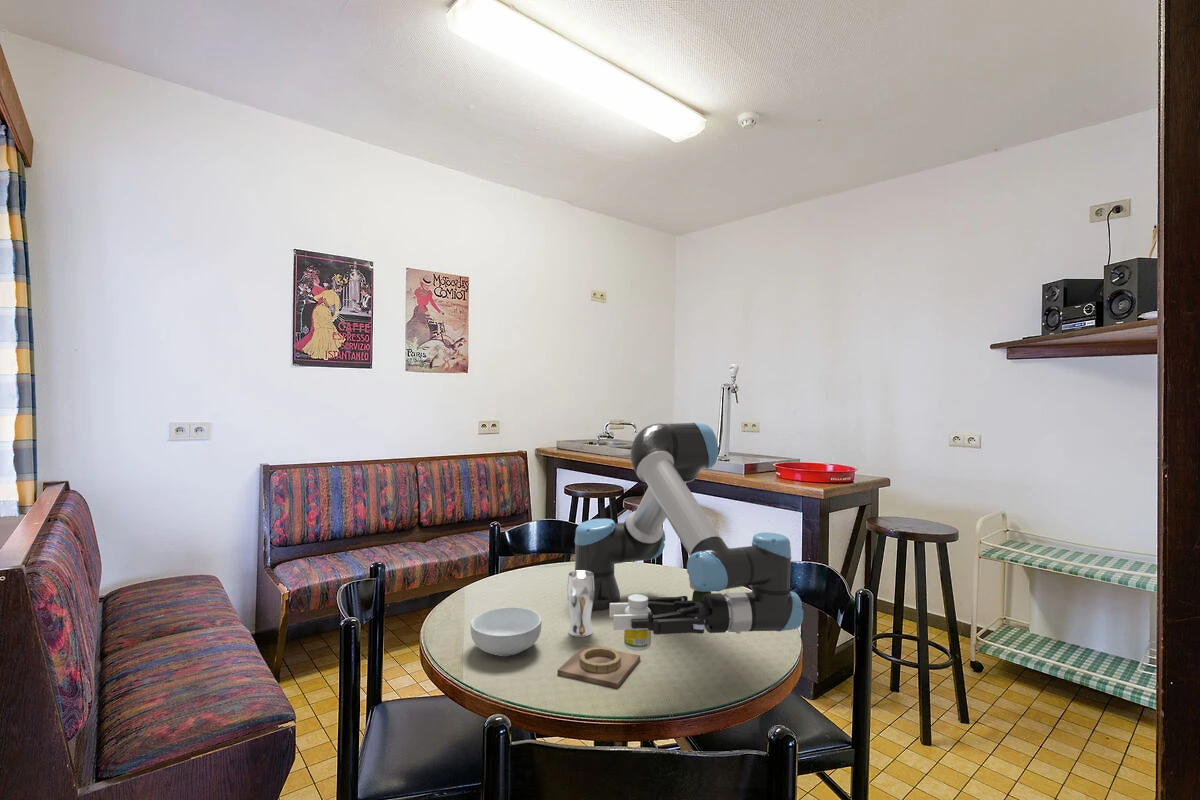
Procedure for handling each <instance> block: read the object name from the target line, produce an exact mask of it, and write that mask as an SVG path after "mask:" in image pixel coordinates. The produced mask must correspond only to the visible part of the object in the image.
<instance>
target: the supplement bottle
mask: <svg viewBox="0 0 1200 800" xmlns="http://www.w3.org/2000/svg"><path fill="white" fill-rule="evenodd" d="M627 603H628V605H629V606H628V607H626V609H625V614H647V618H648V613H649V612H650V613H651V610H650V609H649V608H648V607H647V606H648V596H646V595H644V594H637V593H635V594H630V595H629V596H628V597H627ZM651 632H652V631H650V630H648V628H647V629H632V630H623V633H624V634H623V635H624V637H623V641H624V643H623V644H624V646H625V647H626V648H627V649H628V650H631V651H635V652H636V651H637V652H639V651H640V652H641V651H645V650H648V649H649V648H650V647H651V643H652V639H651V638H652V637H651V636H652V635H651V634H652V633H651Z"/></svg>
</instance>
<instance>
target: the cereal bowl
mask: <svg viewBox="0 0 1200 800" xmlns="http://www.w3.org/2000/svg"><path fill="white" fill-rule="evenodd" d="M541 632H542V617H541V615H540V614H539V613H538V612H537V611H535V610H532V609H530V608H526V607H520V606H519V607H517V606H507V607H505V606H504V607H499V608H492V609H489V610H485V611H483V612H480V613H478V614H477V615H475V616H474V617H472V619H471V621H470V635H471V639H472V641H473V643H474V644H475V646H476V647H477V648H478V649H479V650H481V651H483V652H485V653H488V654H491V655H494V654H496V655H495V656H497V655H501V656H500V657H510V655H512V656H515V655H518V654H520V653H521V652H524V651H525V650H528V649H529V648H531V647H532V646H533V645H534V644H535V643H536V642H537V641H538V639H539V638H540V635H541ZM517 653H518V654H517Z"/></svg>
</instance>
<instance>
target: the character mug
mask: <svg viewBox="0 0 1200 800" xmlns="http://www.w3.org/2000/svg"><path fill="white" fill-rule="evenodd" d="M689 588H690V589H691V590H693V592H692V597H691V601H695V602H701V601H702V600H703V597H704V595H705V594H713V593H712V591H710V592H701V591H698V590H696V589H695V588H694V587H693V586H692V584H691V583H690V582H689Z"/></svg>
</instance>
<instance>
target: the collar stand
mask: <svg viewBox="0 0 1200 800" xmlns="http://www.w3.org/2000/svg"><path fill="white" fill-rule="evenodd" d="M640 661H641V655H639V654H636V653H634V654H633V653H629V652H626V651H625V652H624V651H619V650H615V649H614V648H611V647H606V646H595V645H590V644H583V646H582V647H581V648H579V650H577V651H576V652H575V653H574V654H573V655H572V656H571V657H569V659H567V660H566V661H565V662H564V663H563V664H562V665H561V666H560V667H559V668H558V669H557V675H558V676H561V677H562V676H563V677H566V678H567V677H568V678H571V679H575V680H580V681H585V682H588V683H593V684H598V685H601V686H605V687H610V688H614V689H618V688H619V687H620V685H622V683H623V682H624V681H625V680H626V678H627V677H628V676H629V675H630V674H631V672H632V671H633V670H634V668H635V667H636V666H637V665H638V663H639V662H640Z"/></svg>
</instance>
